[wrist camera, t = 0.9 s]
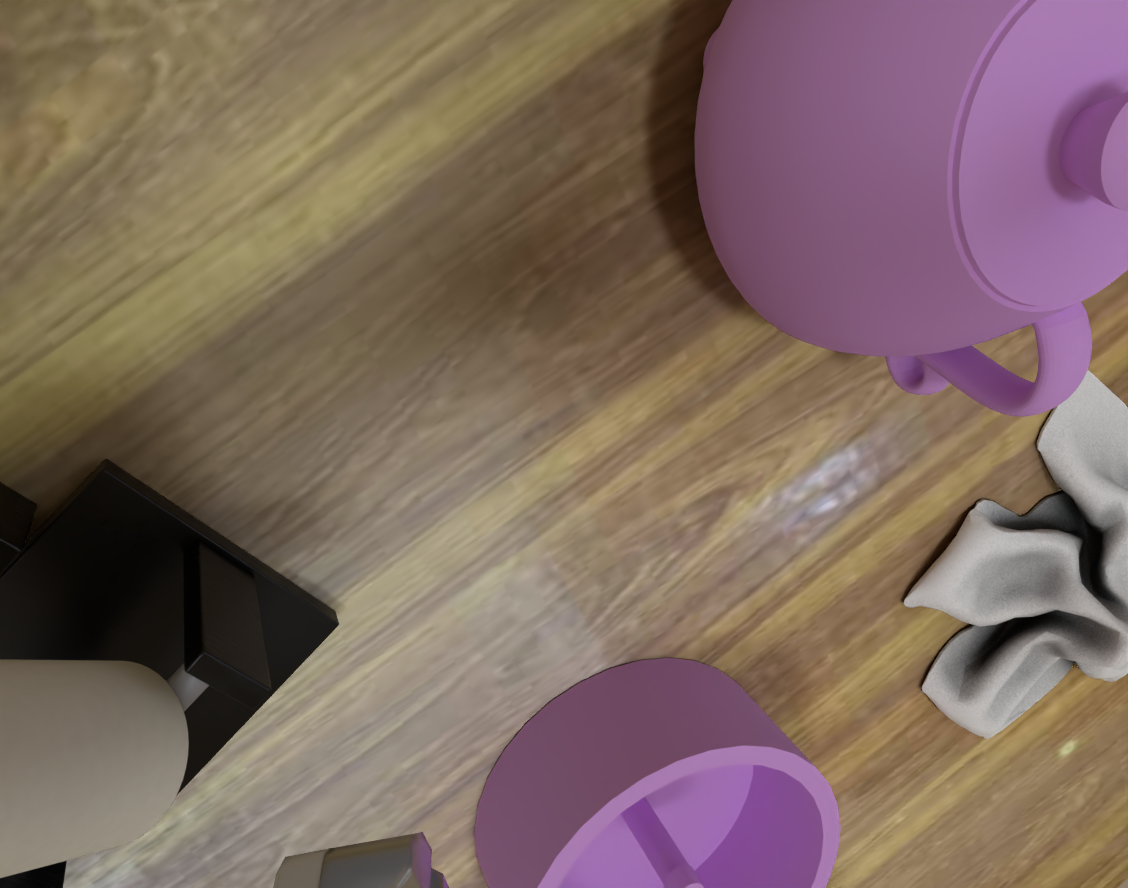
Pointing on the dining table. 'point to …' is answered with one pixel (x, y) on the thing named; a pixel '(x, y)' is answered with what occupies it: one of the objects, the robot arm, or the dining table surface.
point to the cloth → (1038, 576)
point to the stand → (150, 606)
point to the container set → (655, 790)
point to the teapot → (922, 179)
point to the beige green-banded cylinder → (86, 756)
